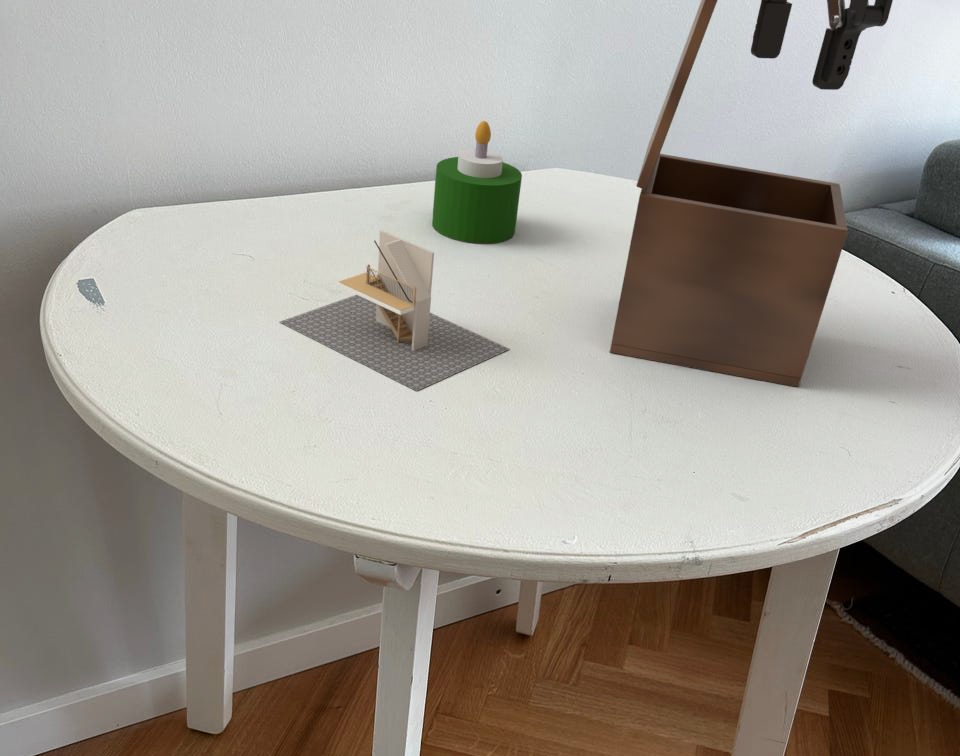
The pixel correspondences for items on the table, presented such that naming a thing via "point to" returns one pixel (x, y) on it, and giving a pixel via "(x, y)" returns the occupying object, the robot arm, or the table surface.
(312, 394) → the table surface
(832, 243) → the toy box
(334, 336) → the architectural model
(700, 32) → the lid
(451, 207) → the candle
